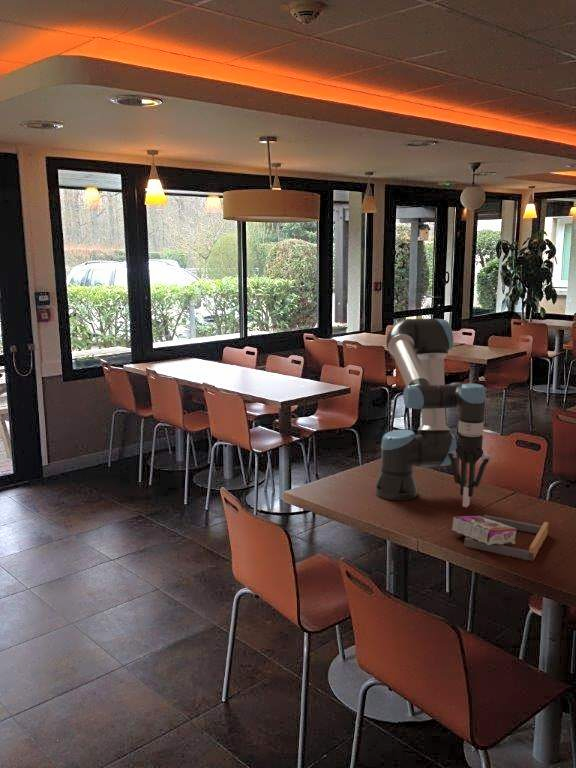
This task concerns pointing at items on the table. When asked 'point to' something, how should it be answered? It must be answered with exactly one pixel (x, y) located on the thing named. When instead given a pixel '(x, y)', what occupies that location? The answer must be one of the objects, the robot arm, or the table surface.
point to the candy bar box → (484, 530)
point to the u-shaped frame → (511, 551)
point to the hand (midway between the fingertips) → (466, 505)
